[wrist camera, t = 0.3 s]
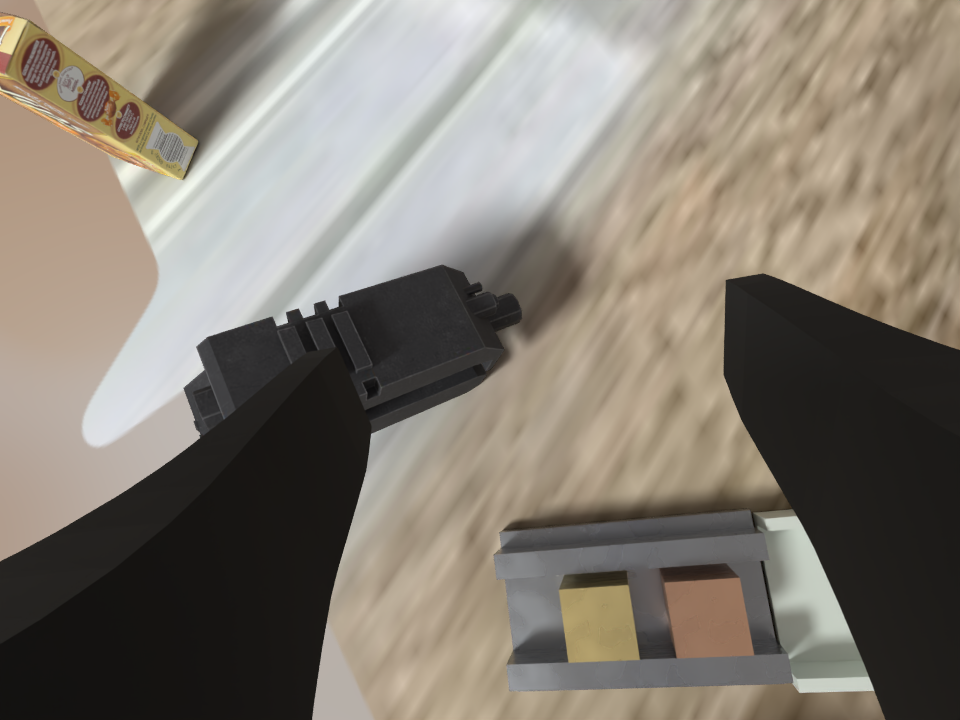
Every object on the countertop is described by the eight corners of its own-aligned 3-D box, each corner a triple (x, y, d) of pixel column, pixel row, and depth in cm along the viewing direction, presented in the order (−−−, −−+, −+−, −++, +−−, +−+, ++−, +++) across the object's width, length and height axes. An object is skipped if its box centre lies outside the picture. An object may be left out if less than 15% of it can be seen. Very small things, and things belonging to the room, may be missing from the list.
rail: (779, 676, 34) (797, 702, 31) (520, 684, 37) (511, 709, 34) (746, 508, 36) (760, 515, 32) (502, 530, 39) (491, 538, 36)
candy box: (201, 140, 50) (30, 13, 35) (183, 184, 50) (3, 74, 35) (128, 119, 52) (-61, -9, 38) (110, 160, 52) (-88, 48, 37)
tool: (214, 428, 42) (149, 342, 27) (459, 335, 49) (512, 228, 35) (245, 510, 40) (194, 466, 26) (494, 401, 48) (564, 319, 33)
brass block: (636, 636, 35) (639, 659, 31) (573, 639, 36) (568, 662, 32) (626, 569, 36) (628, 585, 32) (564, 574, 37) (558, 589, 33)
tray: (1042, 663, 31) (1086, 685, 28) (783, 671, 34) (799, 692, 31) (996, 491, 33) (1033, 495, 30) (752, 512, 36) (765, 518, 33)
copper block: (738, 631, 34) (754, 655, 30) (669, 634, 35) (677, 658, 31) (725, 562, 35) (739, 577, 31) (658, 567, 35) (664, 582, 32)
